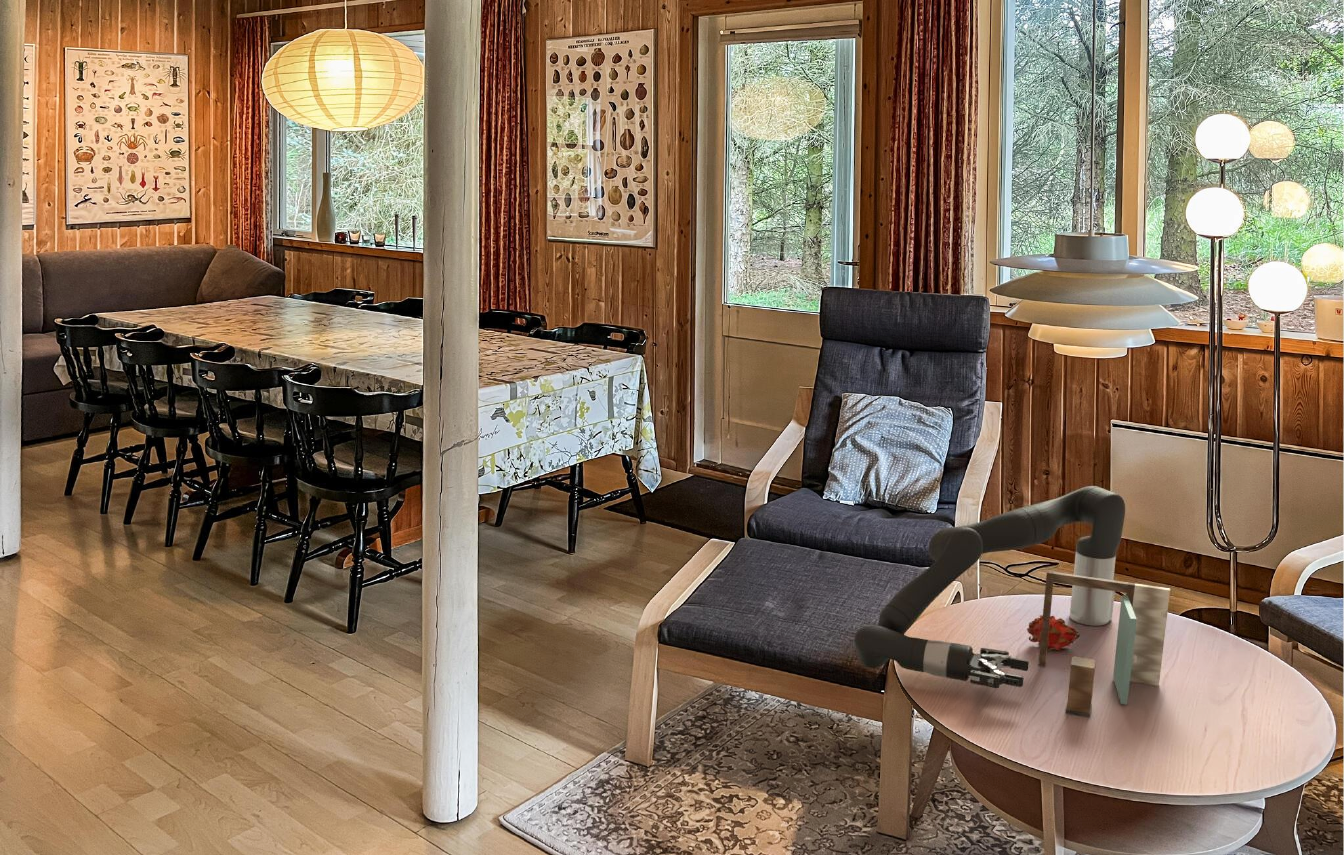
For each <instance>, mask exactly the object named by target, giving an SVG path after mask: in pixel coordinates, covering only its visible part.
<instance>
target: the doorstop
mask: <svg viewBox="0 0 1344 855" xmlns="http://www.w3.org/2000/svg"><path fill="white" fill-rule="evenodd" d="M1096 662H1097V660H1096V659H1093V658H1092V659H1091V658H1088V657H1087V658H1086V657H1080V656H1077V655H1076V656H1074V655H1073V656H1072V658H1071V663H1070V669H1069V670H1070V671H1069V681H1068V691H1067V698H1066V699H1067V700H1066V706H1065V714H1067V715H1072V716H1078V717H1083V718H1087V719H1088V718H1089V719H1090V718H1091V714H1092V707H1093V704H1092V701H1093V693H1094V692H1093V691H1094V690H1093V689H1094V682H1095V671H1096Z"/></svg>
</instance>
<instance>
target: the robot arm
mask: <svg viewBox="0 0 1344 855" xmlns="http://www.w3.org/2000/svg"><path fill="white" fill-rule="evenodd" d="M1125 516H1126V504H1125V500H1124V498H1123V497H1122V496H1121V495H1120V494H1118V493H1116V492H1114V491H1110V490H1109V489H1105V488H1102V487H1100V486H1096V485H1088V486H1083V487H1081V488H1079V489H1076V490H1074V491H1071V492H1069V493H1067V494H1065V495H1062V496H1059V497H1056V498H1054V499H1049V500H1045V501H1042V502H1037V503H1035V504H1030V505H1025V506H1023V507H1018V508H1014V509H1012V510H1009V511H1007V512H1003V513H1001V514H998V515H995V516H992V517H990V518H987V519H984V520H982V521H978V522H975V523H971V524H966V525H961V526H954V527H951V526H949V527H944V528H941V529H939V530H938V531H937V532H935V533H934V534H933V535H932V537H931V539H930V541H929V543H928V553H929V557H930V558H931V559H932V560H933V561H934V562H933V563H932V564H931V565H930V566H929V567H928V568H927V569H925V571H923V572H922V573H920V574H919V575H918V576H916V577H915V578H913V579H912V580H911V581H909V582H908V583H906V584H905V585H904V586H903V587H902V588H901V589H900V590H898V592H896V593H895V595H894V596H893V597H892V599H891V600H890V601H889V602H888V603H887V604H886V605H884V607H883V609H882V610H881V612H880V614H879V619H878V623H877V624H875V625H874V624H870V625H865V626H862V627H860V628H859V629H858V630H857V631H856V633H855V635H854V646H855V649H856V654H857V657H858V660H859V661H860V663H861V664H862V665H863V666H865V667H867V669H877V668H880V667H882V666H883V665H885V664H886V663H887V662H888V661H889V660H893V661H895V662H896V663H897V664H898V666H899V667H901V669H902V668H903V669H905V670H909V671H913V672H920V673H925V674H928V675H931V676H935V677H941V678H946V679H951V680H957V681H961V682H967V681H968V680H969V683H970V684H973V685H977V686H983V687H988V688H993V689H999V688H1000V687H1001V686H1004V685H1007V686H1011V687H1012V686H1013V687H1018V688H1022V687H1023V685H1024V679H1025V677H1024V676H1022V675H1018V674H1013V673H1007V672H1002V669H1008V668H1009V669H1013V670H1018V671H1019V670H1020V671H1025V672H1027V671H1028V670H1029V667H1030V661H1029V660H1028V659H1022V658H1017V657H1012V656H1011V655H1010V652H1009V651H1007V650H999V649H992V648H986V647H981V648H980V651H979V653H974V652H973V650H974V649H973V647H972V646H971V645H969V644H961V643H955V642H950V641H943V640H931V639H925V638H920V637H912V636H908V635H906V633H907V632H908V630H909V629H910V628H911V627H912V626H913V625H914V624H915V623H916V622H917V620H918V619H919V618H920V616H921V615H922V614H923V613H924V612H925V610H927V608H928V607H929V606H930V605H931V604H932V603H933V602H934V601H935V600H936V599H937V598H938V597H939V596H940V594H942V593H943V592H944V591H945V590H946V589H947V588H948V587H949V586H950V585H952V583H954V581H956V580H957V579H958V578H959V577H961V575H963V574H964V573H966V571H968V570H969V569H970V568H972V567H973V566H974V565H975V564H976V563H977V562H978V560H980V558H981V556H982V555H984V554H987V553H995V552H996V553H997V552H1006V551H1015V550H1019V549H1025V548H1028V547H1033V546H1037V545H1039V544H1041V543H1042V544H1043V543H1045V542H1047V541H1048V540H1050V539H1051V538H1053V536H1054V535H1055V534H1056V532H1057V531H1058V530H1059V528H1061V527H1062V526H1065V525H1068V524H1069V525H1070V524H1073V523H1086V524H1088V525H1091V526H1092V530H1091V533H1090V535H1087V536H1081V537H1080V538H1078V539H1077V541H1076V544H1075V545H1076V546H1075V547H1076V548H1075V556H1074V567H1073V568H1074V570H1073V575H1079V576H1086V577H1093V578H1100V579H1107V580H1114V575H1115V567H1116V566H1115V565H1116V558H1117V550H1118V549H1119V546H1120V544H1121V541H1122V534H1123V530H1124V523H1125ZM1115 594H1116V591H1109V590H1103V589H1096V588H1089V587H1082V586H1075V585H1072V588H1071V599H1070V608H1069V618H1070V619H1071V620H1072V621H1074V622H1075V623H1078V624H1082V625H1087V626H1094V627H1095V626H1096V627H1097V626H1105V625H1107V624H1108V623H1109V622H1110V621H1112V620H1113V612H1114V604H1115V603H1114V602H1115Z"/></svg>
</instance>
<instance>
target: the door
mask: <svg viewBox="0 0 1344 855" xmlns="http://www.w3.org/2000/svg"><path fill="white" fill-rule="evenodd" d="M1119 607H1120V610H1119V618H1118V628H1117V636H1116V637H1117V638H1116V646H1115V652H1114V653H1115V656H1114V665H1113V671H1112V672H1113V673H1112V674H1113V675H1112V678H1113V681H1114V682H1113V683H1114V684H1115V687H1116V688H1115V689H1116V692H1117V695H1118V698H1119V701H1120V704H1121V705H1128V701H1129V691H1130V690H1129V689H1130V684H1131V681H1130V674H1131V665H1132V663H1136V662H1137V655H1133V647H1134V638H1135V629H1136V620H1137V619H1136V616H1135V614H1134V611H1133V608H1132V606H1131V603H1130V601H1129V598H1128V596H1126V595H1122V594H1121V600H1120V606H1119Z"/></svg>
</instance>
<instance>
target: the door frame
mask: <svg viewBox="0 0 1344 855" xmlns="http://www.w3.org/2000/svg"><path fill="white" fill-rule="evenodd" d="M1045 576H1046V577H1045V588H1044V598H1043V599H1044V600H1043V609H1042V610H1043V611H1042V615H1043V619H1042V630H1041V641H1040V647H1039V654H1038V663H1037V665H1038V666H1041V667H1046V664H1047V657H1048V656H1047V655H1048V651H1047V646H1048V635H1049V625H1050V616H1051V612H1052V604H1053V603H1052V602H1053V591H1054V583H1056V584H1064V585H1070V586H1073V585H1075V586H1082V587H1089V588H1096V589H1103V590H1109V591H1115V593H1116V592H1117V593H1123V594H1125V596H1128V598H1129V601H1130V603H1131V606H1132V608H1133V611H1134V614H1135V616H1136V619H1137V620H1136V629H1135V638H1134V647H1133V655H1137V662H1136V663H1132V665H1131V674H1130V682H1132V683H1133V682H1134V683H1138V684H1144V685H1145V684H1146V685H1149V686H1151V685H1152V686H1157V687H1159V685H1160V678H1161V671H1162V670H1161V669H1162V664H1163V663H1162V661H1163V653H1164V646H1165V645H1164V644H1165V637H1166V629H1167V620H1168V619H1167V618H1168V611H1169V603H1170V602H1169V601H1170V594H1171V592H1170V591H1171V588H1168V587H1161V586H1156V585H1155V586H1154V585H1148V584H1141V583H1133V582H1126V581H1121V580H1120V581H1119V580H1114V579H1113V580H1107V579H1100V578H1093V577H1086V576H1079V575H1074V574H1071V573H1064V572H1057V571H1050V570H1046V575H1045Z"/></svg>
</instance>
